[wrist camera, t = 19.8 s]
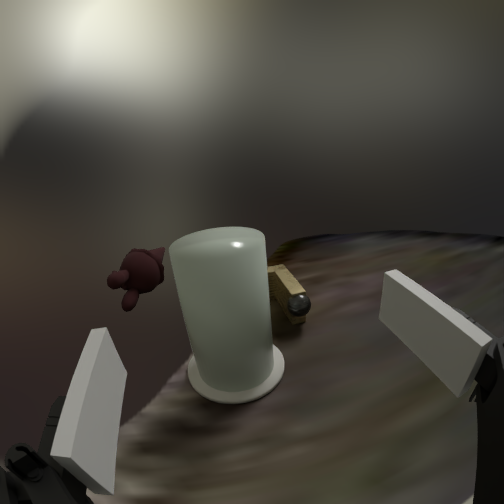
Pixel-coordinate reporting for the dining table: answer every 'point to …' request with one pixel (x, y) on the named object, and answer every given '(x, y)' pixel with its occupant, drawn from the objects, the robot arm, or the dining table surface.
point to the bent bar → (288, 293)
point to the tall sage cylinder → (226, 305)
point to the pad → (242, 395)
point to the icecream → (138, 274)
